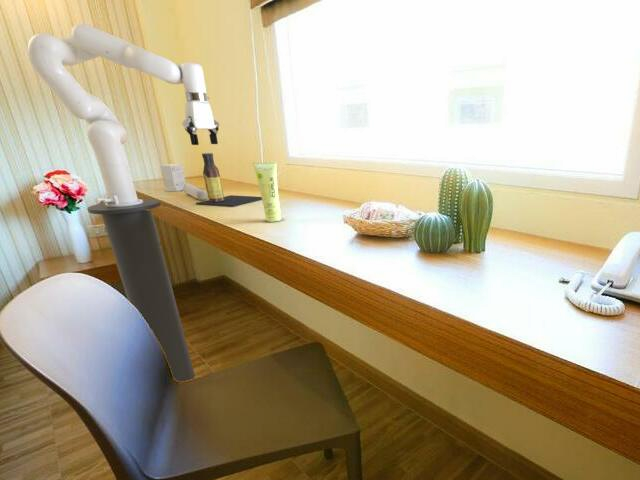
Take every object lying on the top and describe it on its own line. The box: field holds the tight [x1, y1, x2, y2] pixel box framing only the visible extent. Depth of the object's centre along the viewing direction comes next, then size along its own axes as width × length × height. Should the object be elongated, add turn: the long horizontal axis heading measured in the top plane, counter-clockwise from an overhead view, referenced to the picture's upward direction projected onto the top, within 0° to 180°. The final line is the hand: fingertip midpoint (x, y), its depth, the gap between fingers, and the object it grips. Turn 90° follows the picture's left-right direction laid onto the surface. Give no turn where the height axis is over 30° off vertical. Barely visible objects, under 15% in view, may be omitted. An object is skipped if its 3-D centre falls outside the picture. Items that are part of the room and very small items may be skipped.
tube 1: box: [182, 183, 208, 201], centre depth 182 cm, size 5×5×25 cm
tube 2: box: [252, 160, 282, 223], centre depth 131 cm, size 6×5×20 cm
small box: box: [159, 163, 187, 193], centre depth 203 cm, size 8×6×13 cm
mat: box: [195, 194, 262, 208], centre depth 171 cm, size 20×20×1 cm
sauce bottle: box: [201, 152, 225, 202], centre depth 165 cm, size 6×6×20 cm
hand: (205, 144), depth 161 cm, fingers open, 9 cm apart
